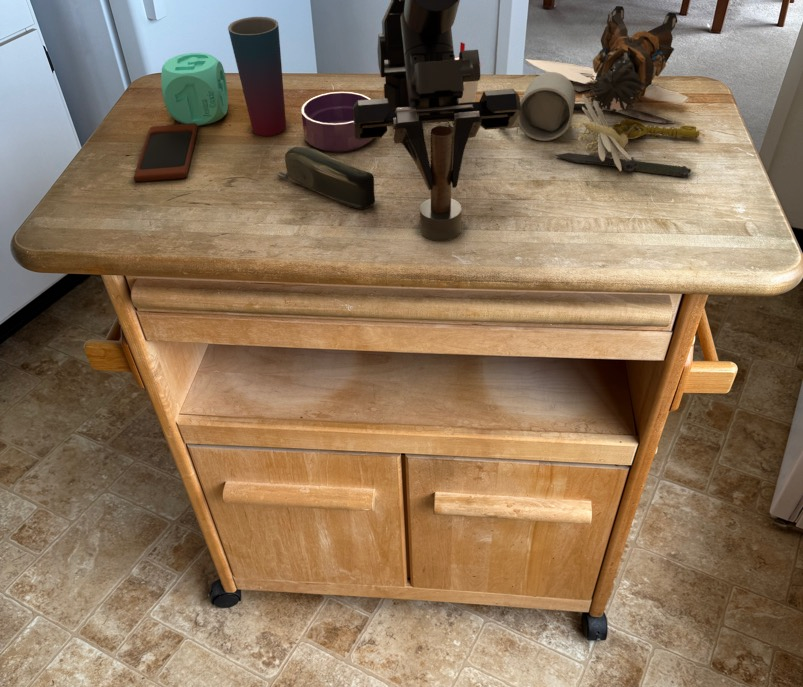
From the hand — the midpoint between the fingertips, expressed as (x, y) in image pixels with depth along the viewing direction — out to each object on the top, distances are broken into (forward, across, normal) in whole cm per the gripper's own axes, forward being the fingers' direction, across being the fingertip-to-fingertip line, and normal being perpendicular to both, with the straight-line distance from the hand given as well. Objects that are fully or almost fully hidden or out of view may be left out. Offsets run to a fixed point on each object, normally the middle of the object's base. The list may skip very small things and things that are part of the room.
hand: (442, 188), depth 86 cm
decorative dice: (-22, -32, +31) cm, 50 cm away
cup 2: (-16, +7, +25) cm, 30 cm away
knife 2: (-13, +28, +22) cm, 38 cm away
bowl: (-15, -11, +24) cm, 30 cm away
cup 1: (-18, -21, +27) cm, 39 cm away
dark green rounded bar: (-4, -14, +14) cm, 20 cm away
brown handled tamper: (+4, 0, +6) cm, 7 cm away
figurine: (-30, +38, +31) cm, 58 cm away
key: (-9, +33, +19) cm, 39 cm away
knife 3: (-6, +27, +14) cm, 31 cm away
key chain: (-20, +32, +28) cm, 47 cm away
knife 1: (-22, +31, +30) cm, 49 cm away
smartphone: (-20, -35, +28) cm, 49 cm away
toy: (-7, +24, +16) cm, 30 cm away
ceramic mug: (-13, +18, +22) cm, 31 cm away
